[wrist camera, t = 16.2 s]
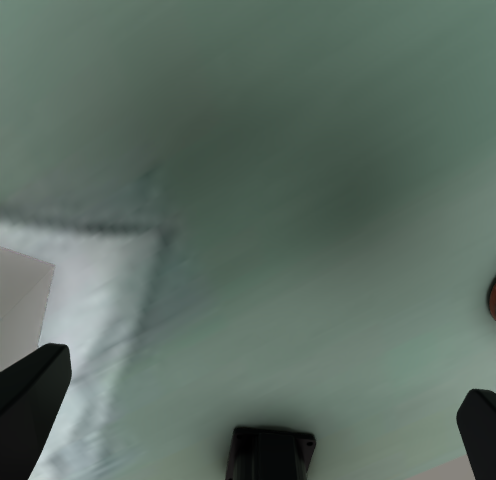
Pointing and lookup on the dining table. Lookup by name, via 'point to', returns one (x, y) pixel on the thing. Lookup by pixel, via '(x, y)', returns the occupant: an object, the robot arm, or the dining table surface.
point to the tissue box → (21, 304)
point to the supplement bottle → (493, 302)
